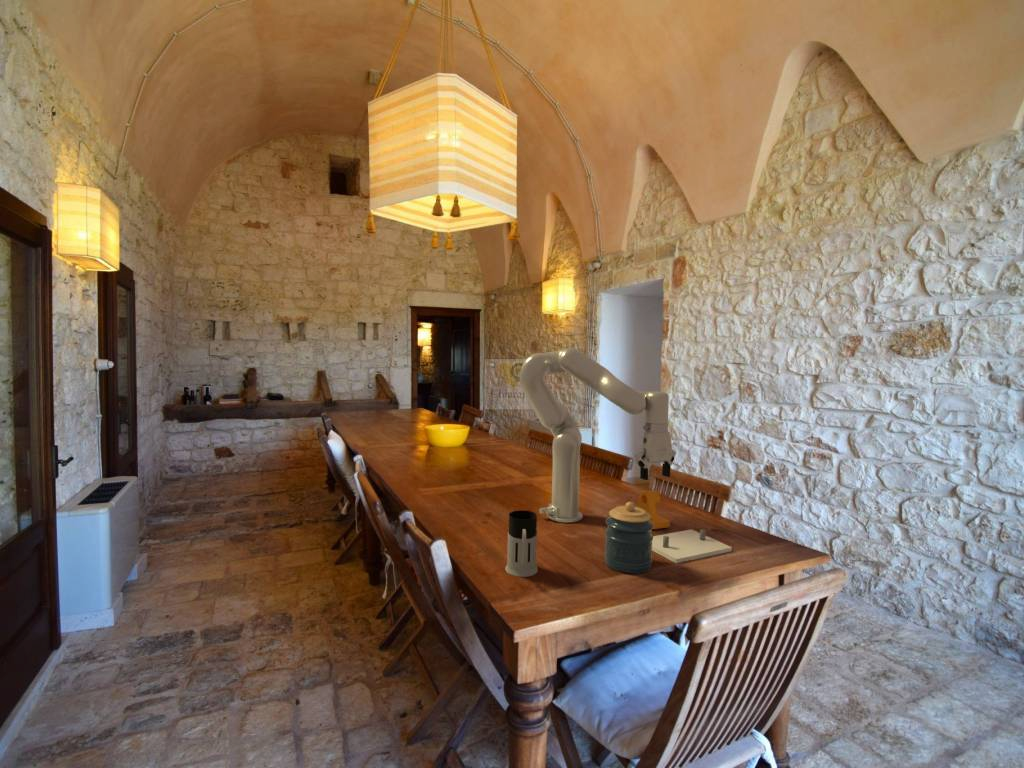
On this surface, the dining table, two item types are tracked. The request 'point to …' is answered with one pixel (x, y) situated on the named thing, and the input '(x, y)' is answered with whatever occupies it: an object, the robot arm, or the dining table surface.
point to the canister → (629, 539)
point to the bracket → (652, 508)
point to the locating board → (687, 545)
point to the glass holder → (522, 543)
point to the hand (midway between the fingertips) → (655, 477)
